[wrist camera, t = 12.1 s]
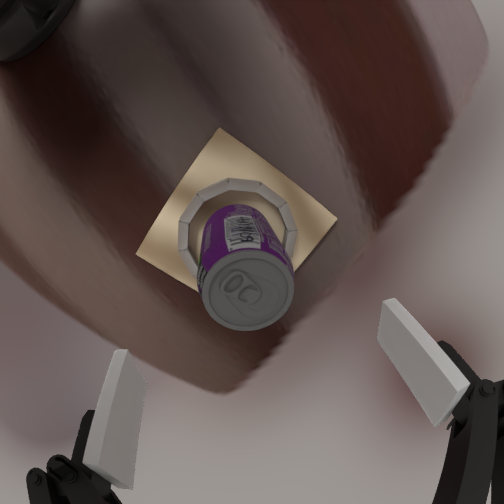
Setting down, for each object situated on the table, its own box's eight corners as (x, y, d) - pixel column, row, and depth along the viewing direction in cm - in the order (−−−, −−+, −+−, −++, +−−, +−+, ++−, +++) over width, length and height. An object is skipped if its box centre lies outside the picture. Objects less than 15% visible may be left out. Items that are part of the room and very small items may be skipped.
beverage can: (189, 240, 29) (174, 302, 18) (232, 188, 27) (242, 221, 16) (240, 277, 31) (253, 350, 20) (283, 230, 30) (321, 285, 19)
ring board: (250, 317, 35) (253, 328, 32) (137, 251, 29) (132, 259, 27) (334, 216, 31) (343, 222, 29) (219, 127, 26) (219, 126, 23)
